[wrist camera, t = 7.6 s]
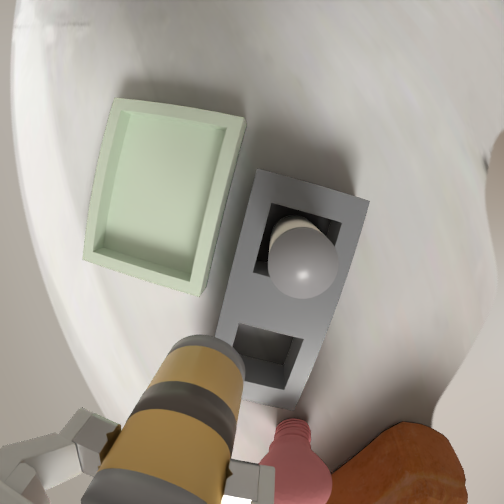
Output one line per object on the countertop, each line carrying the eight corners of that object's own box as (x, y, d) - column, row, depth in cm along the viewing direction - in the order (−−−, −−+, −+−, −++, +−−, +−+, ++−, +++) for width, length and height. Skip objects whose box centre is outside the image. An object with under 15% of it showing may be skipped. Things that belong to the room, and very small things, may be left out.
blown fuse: (172, 324, 14) (69, 472, 5) (254, 346, 14) (225, 527, 5) (163, 387, 15) (90, 526, 6) (236, 407, 15) (204, 564, 6)
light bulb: (242, 428, 30) (227, 517, 18) (287, 390, 28) (289, 486, 17) (290, 455, 30) (291, 539, 19) (336, 421, 29) (354, 510, 17)
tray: (127, 104, 24) (114, 97, 22) (246, 124, 24) (243, 117, 21) (96, 253, 27) (82, 259, 25) (206, 287, 27) (199, 297, 24)
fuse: (277, 209, 25) (278, 220, 16) (322, 222, 25) (347, 240, 16) (265, 254, 26) (259, 288, 17) (309, 266, 26) (326, 306, 17)
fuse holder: (260, 171, 25) (257, 168, 21) (355, 198, 24) (369, 201, 20) (211, 364, 28) (202, 388, 24) (292, 384, 28) (293, 410, 24)
